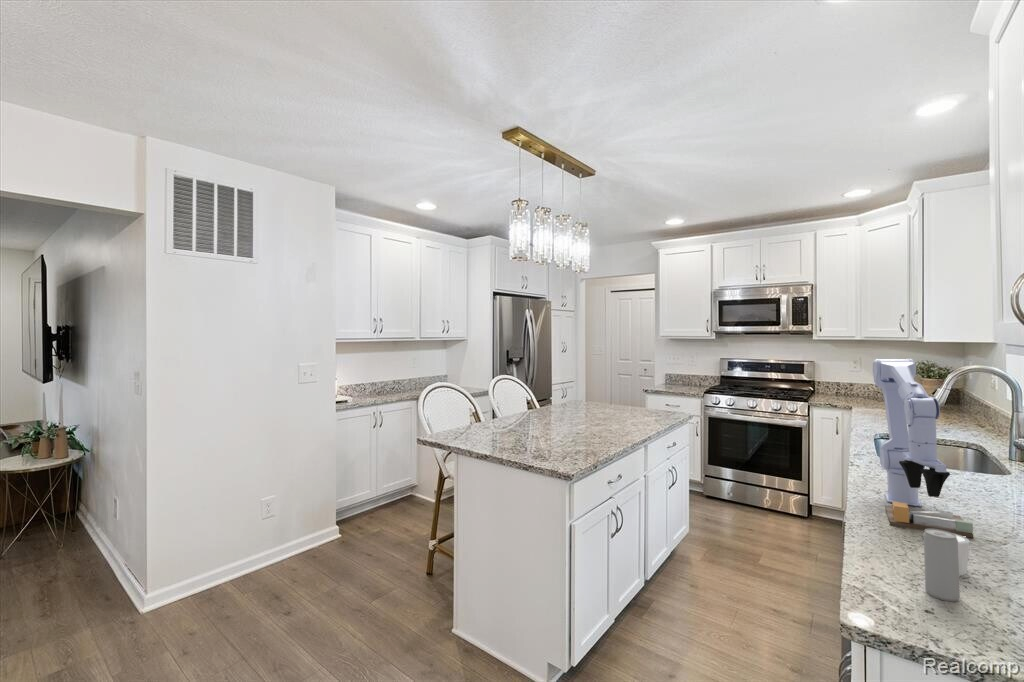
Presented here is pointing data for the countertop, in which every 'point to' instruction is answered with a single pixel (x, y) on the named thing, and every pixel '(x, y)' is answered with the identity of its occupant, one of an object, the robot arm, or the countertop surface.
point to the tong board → (933, 523)
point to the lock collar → (900, 512)
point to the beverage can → (941, 564)
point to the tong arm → (935, 514)
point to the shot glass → (963, 554)
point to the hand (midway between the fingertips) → (924, 491)
